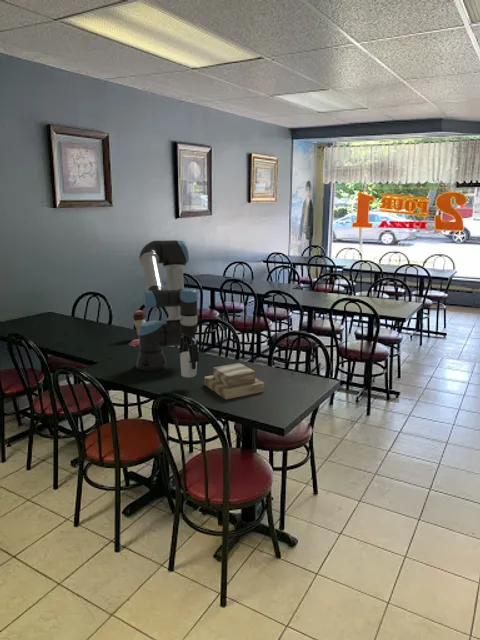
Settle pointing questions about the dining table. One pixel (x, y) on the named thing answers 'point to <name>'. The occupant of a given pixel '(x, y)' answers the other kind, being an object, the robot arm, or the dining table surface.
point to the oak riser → (233, 381)
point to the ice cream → (138, 324)
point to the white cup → (185, 364)
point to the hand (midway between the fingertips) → (188, 372)
